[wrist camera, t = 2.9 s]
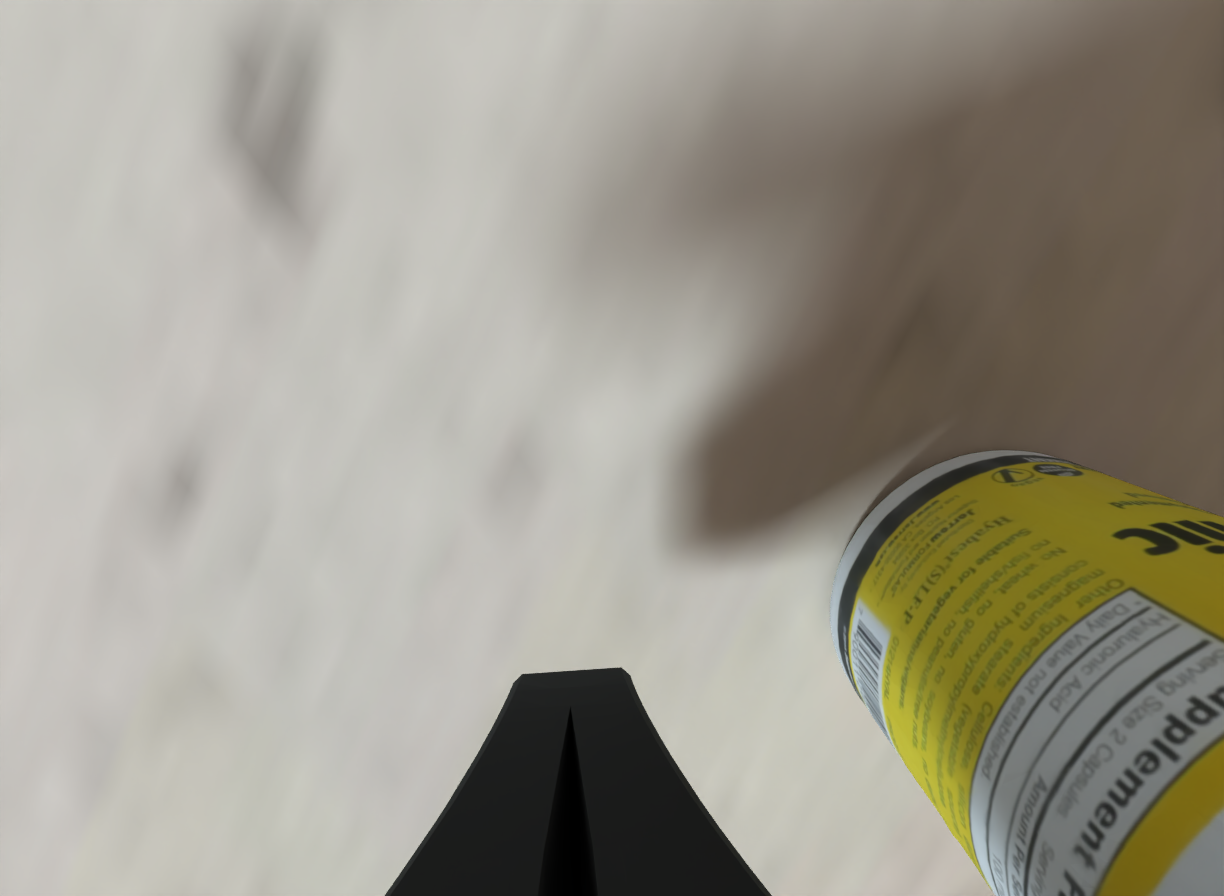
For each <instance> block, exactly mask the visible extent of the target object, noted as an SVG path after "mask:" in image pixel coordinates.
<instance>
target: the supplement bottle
mask: <svg viewBox="0 0 1224 896" xmlns="http://www.w3.org/2000/svg"><path fill="white" fill-rule="evenodd" d="M830 624H831V632H832V637H833V642H834V646H835V649H836V652H837V655H838V658H839V661H840V663H841V665H842V667H843V670H844V672H845V674H846V675H847V677H848V679H849V681H850V683H851V684H852V686H853V688H854V689H855V691H856V693H857V694H858V696H859V697H860V699H861V700H862V701H863V703H864V704H865V706H866V707H867V709H868V710H869V712H870V713H871V715H872V717H873V718H874V720H875V721H876V722H877V724H878V725H879V727H880V728H881V730H882V731H883V733H884V734H885V736H886V737H887V739H888V740H889V741H890V743H891V744H892V746H893V747H894V749H895V750H896V752H897V753H898V754H899V756H900V757H901V759H902V760H903V761H904V763H905V765H906V766H907V768H908V769H909V771H910V772H911V773H912V775H913V776H914V778H915V779H916V781H917V782H918V784H919V785H920V786H921V788H922V789H923V790H924V792H925V793H926V795H927V796H928V798H929V799H930V800H931V802H932V803H933V805H934V806H935V808H936V809H937V811H938V812H939V813H940V815H941V816H942V818H943V820H944V821H945V823H946V824H947V826H948V828H949V829H950V831H951V833H952V834H953V836H954V837H955V838H956V839H957V840H958V841H959V843H960V844H961V846H962V847H963V848H964V850H965V851H966V853H967V854H968V856H969V857H970V859H971V860H972V861H973V863H974V864H975V866H976V867H977V869H978V870H979V872H980V874H981V875H982V877H983V878H984V880H985V881H986V883H987V884H988V886H989V887H990V889H991V890H992V891H993V892H994V894H995V895H996V896H1224V518H1223V517H1221V516H1218V515H1215V514H1213V513H1210V512H1207V511H1204V510H1201V509H1198V508H1196V507H1193V506H1190V505H1187V504H1184V503H1181V502H1179V501H1176V500H1173V499H1171V498H1168V497H1165V496H1163V495H1160V494H1157V493H1155V492H1152V491H1149V490H1146V489H1144V488H1141V487H1138V486H1136V485H1133V484H1130V483H1127V482H1124V481H1122V480H1119V479H1116V478H1114V477H1111V476H1108V475H1106V474H1103V473H1101V472H1098V471H1095V470H1092V469H1090V468H1087V467H1084V466H1081V465H1078V464H1075V463H1072V462H1070V461H1067V460H1063V459H1060V458H1056V457H1053V456H1049V455H1045V454H1040V453H1036V452H1027V451H1013V450H997V451H985V452H978V453H972V454H967V455H963V456H959V457H956V458H953V459H950V460H947V461H945V462H942V463H939V464H936V465H934V466H932V467H930V468H928V469H926V470H924V471H922V472H920V473H919V474H917V475H915V476H914V477H912V478H910V479H909V480H908V481H906V482H905V483H904V484H902V485H901V486H899V487H898V488H897V489H895V490H894V491H893V492H892V493H890V494H889V495H888V496H887V497H886V498H885V499H884V500H883V501H881V502H880V503H879V504H878V506H877V507H876V508H875V509H874V510H873V511H872V512H871V513H870V514H869V515H868V516H867V518H866V519H865V520H864V521H863V523H862V524H861V526H860V527H859V528H858V530H857V531H856V533H855V535H854V536H853V538H852V539H851V541H850V543H849V544H848V546H847V548H846V550H845V552H844V554H843V556H842V558H841V561H840V563H839V566H838V569H837V572H836V575H835V579H834V583H833V588H832V595H831V603H830Z"/></svg>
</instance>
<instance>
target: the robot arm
mask: <svg viewBox="0 0 1224 896" xmlns="http://www.w3.org/2000/svg"><path fill="white" fill-rule="evenodd" d="M385 896H772V895H771V894H770V893H769V892H768V890H767V889H766V888H765V887H764V885H763V884H762V883H761V882H760V880H759V879H758V878H757V876H756V875H755V874H754V873H753V871H752V870H751V869H750V868H749V866H748V865H747V864H746V862H745V861H744V860H743V858H742V857H741V856H740V854H739V853H738V852H737V850H736V849H735V848H734V846H733V845H732V844H731V842H730V841H729V840H728V838H727V837H726V836H725V834H724V833H723V832H722V830H721V829H720V828H719V826H718V825H717V823H716V822H715V821H714V819H713V818H712V816H711V815H710V814H709V812H708V811H707V809H706V808H705V806H704V805H703V804H702V802H701V801H700V799H699V798H698V796H697V795H696V793H695V792H694V790H693V789H692V787H691V785H690V784H689V782H688V781H687V779H686V778H685V776H684V775H683V773H682V772H681V770H680V769H679V767H678V766H677V764H676V763H675V761H674V759H673V758H672V756H671V755H670V753H669V751H668V750H667V748H666V746H665V745H664V743H663V741H662V740H661V738H660V736H659V734H658V733H657V731H656V729H655V727H654V725H653V724H652V722H651V720H650V718H649V716H648V714H647V713H646V711H645V709H644V707H643V705H642V703H641V701H640V698H639V696H638V694H637V692H636V690H635V687H634V685H633V682H632V679H631V676H630V675H629V674H628V673H627V672H626V671H625V670H623V669H622V668H607V669H592V670H577V671H563V672H548V673H533V674H522V675H521V676H520V677H519V678H518V679H517V680H516V681H515V682H514V683H513V686H512V688H511V690H510V693H509V695H508V697H507V699H506V701H505V703H504V705H503V707H502V709H501V711H500V713H499V715H498V717H497V719H496V721H495V723H494V725H493V727H492V729H491V731H490V732H489V734H488V736H487V738H486V740H485V741H484V743H483V745H482V747H481V749H480V750H479V752H478V754H477V756H476V757H475V759H474V761H473V762H472V764H471V766H470V767H469V769H468V771H467V772H466V774H465V776H464V777H463V779H462V781H461V782H460V784H459V785H458V787H457V789H456V790H455V792H454V794H453V795H452V797H451V799H450V800H449V802H448V804H447V805H446V807H445V808H444V810H443V811H442V813H441V815H440V816H439V818H438V819H437V821H436V822H435V824H434V825H433V827H432V828H431V829H430V831H429V832H428V834H427V835H426V837H425V838H424V840H423V841H422V843H421V844H420V846H419V847H418V848H417V850H416V851H415V853H414V854H413V856H412V857H411V859H410V860H409V862H408V863H407V864H406V866H405V867H404V869H403V870H402V872H401V873H400V875H399V876H398V878H397V879H396V880H395V882H394V883H393V885H392V886H391V888H390V889H389V890H388V892H387V893H386V895H385Z"/></svg>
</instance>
